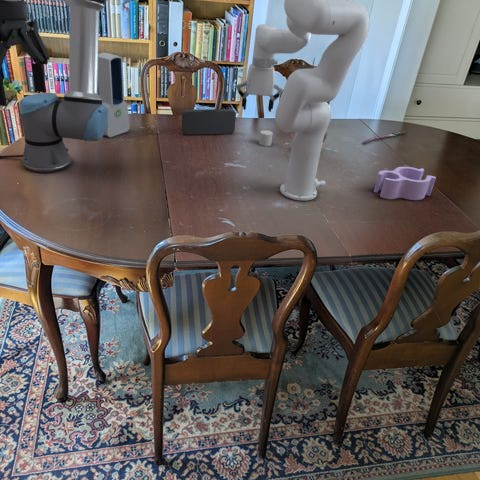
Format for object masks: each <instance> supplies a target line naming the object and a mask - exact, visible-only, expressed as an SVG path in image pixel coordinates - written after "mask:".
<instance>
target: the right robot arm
mask: <svg viewBox="0 0 480 480" xmlns="http://www.w3.org/2000/svg"><path fill="white" fill-rule="evenodd" d="M283 6H284V7H283V9H284V12H285V14H286V26H287V29H286V28H285V29H283V28H281V29H280V28H278V27H276V26H275V25H271V24H265V23H261V24H258V25H257V26H256V28H255V33H254V34H255V35H254V43H253V51H252V52H253V53H252V61H251V64H249V66H248V69H247V73H246V80H245V81H243V82H240V83H238V84H236V85H235V88H236V90H237V93H238V94H239V96H240V97H241V98H242V99H241V100H242V101H241V108H242V109H243V111H246V110H247V97H249V95H250V96H263V97H269V100H268V106H267V108H268V109H267V110H268V112H270V113H271V112H272V110H273V109H274V103H275V101H276V100H277V99H278V98H279V101H278V103H277V106H276V110H275V115H274V122H275V124H276V127H277V130H279V131H280V132H282V133H285V134H286V133H287V134H289V133H292V134H293V133H295V135H294V137H293V140H292V142H291V147H290V153H289V154H290V155H289V160H288V165H287V173H286V180H285V182H283V183H282V184H281V185H280V188H279V191H280V193H281V194H282V195H283V196H284V197H287V198H288V199H290V200H294V201H301V202H302V201H306V202H307V201H311V200H313V199H315V198H317V195H318V190H317V189H318V188H319V187H325V186H326V185H327V184H326V181H325V180H324V179H322V180H319V178H316V177H317V173H318V172H317V171H318V168H319V162H320V157H321V153H322V147H323V144H324V142H323V139H324V135H325V133H326V130H327V131H328V127H329V125H330V123H331V119H332V109H331V107H330V105H329V103H328V102H331V101H333V100H334V99H336V98H337V95H338V94H339V92H340V90H341V89H342V88H341V87H342V85H343V83H344V81H345V79H346V78H347V75H348V73H349V71H350V68H351V66H352V64H353V62H354V61H355V59H356V58H357V57H358V55H359V53H360V52H361V50H362V49H363V47H364V45H365V42H367V39H368V35H369V31H370V14H369V11H368V9H367V8H366V6H365V5H364V4H362V3H360V2H358V1H355V0H284V2H283ZM312 35H318V36H319V35H322V36H337V38H336V39H334V40H333V41H332V42H331V43H330V44H329V45H328V46H327V47H326V48H325V50H324V51H323V53H322V55H321V57H320V60H319V62H318V64H317V66H315V67H313V68H312V67H311V69H308V68H307V69H300V68H298V69H295V70H294V71H293V72H291V73H290V74H289V76H288V78H287V79H286V81H285V85H284V87H283V88H282V87H281V86H279V85H277V84H276V83H275V74H276V73H275V66H276V65H278V60H276V59H275V55H277V54H278V55H279V54H290V55H291V54H296V53H297V52H300V51H302V49H304V48H305V47H306V46H307V45H308V44H309V42H310V39H311V36H312ZM242 88H245V90H244V92H243V91H242ZM274 90H276V91H277V92H276V93H275V94H274Z"/></svg>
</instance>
